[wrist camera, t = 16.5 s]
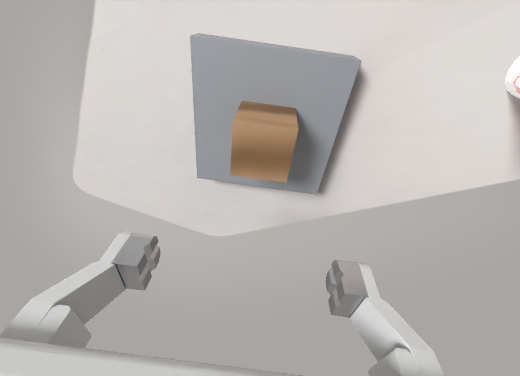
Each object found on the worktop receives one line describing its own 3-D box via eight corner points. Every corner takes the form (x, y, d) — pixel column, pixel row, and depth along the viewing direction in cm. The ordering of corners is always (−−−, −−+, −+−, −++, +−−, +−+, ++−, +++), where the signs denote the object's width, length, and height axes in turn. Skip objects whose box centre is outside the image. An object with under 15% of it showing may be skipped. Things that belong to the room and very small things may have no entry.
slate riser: (198, 33, 21) (190, 35, 19) (353, 56, 21) (361, 60, 19) (202, 166, 30) (197, 177, 28) (314, 182, 30) (316, 194, 28)
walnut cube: (241, 100, 22) (233, 120, 18) (295, 108, 22) (298, 129, 18) (238, 148, 25) (230, 175, 21) (285, 155, 25) (286, 182, 21)
